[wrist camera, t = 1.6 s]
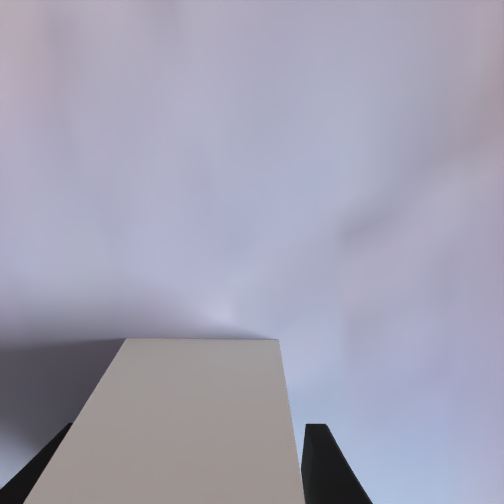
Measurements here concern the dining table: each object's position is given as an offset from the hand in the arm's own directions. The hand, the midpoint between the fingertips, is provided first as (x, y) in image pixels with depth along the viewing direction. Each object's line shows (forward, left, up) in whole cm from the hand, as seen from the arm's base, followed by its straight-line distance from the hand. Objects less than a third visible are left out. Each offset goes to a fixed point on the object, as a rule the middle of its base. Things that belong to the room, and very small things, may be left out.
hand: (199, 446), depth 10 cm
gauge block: (0, 0, -2) cm, 2 cm away
